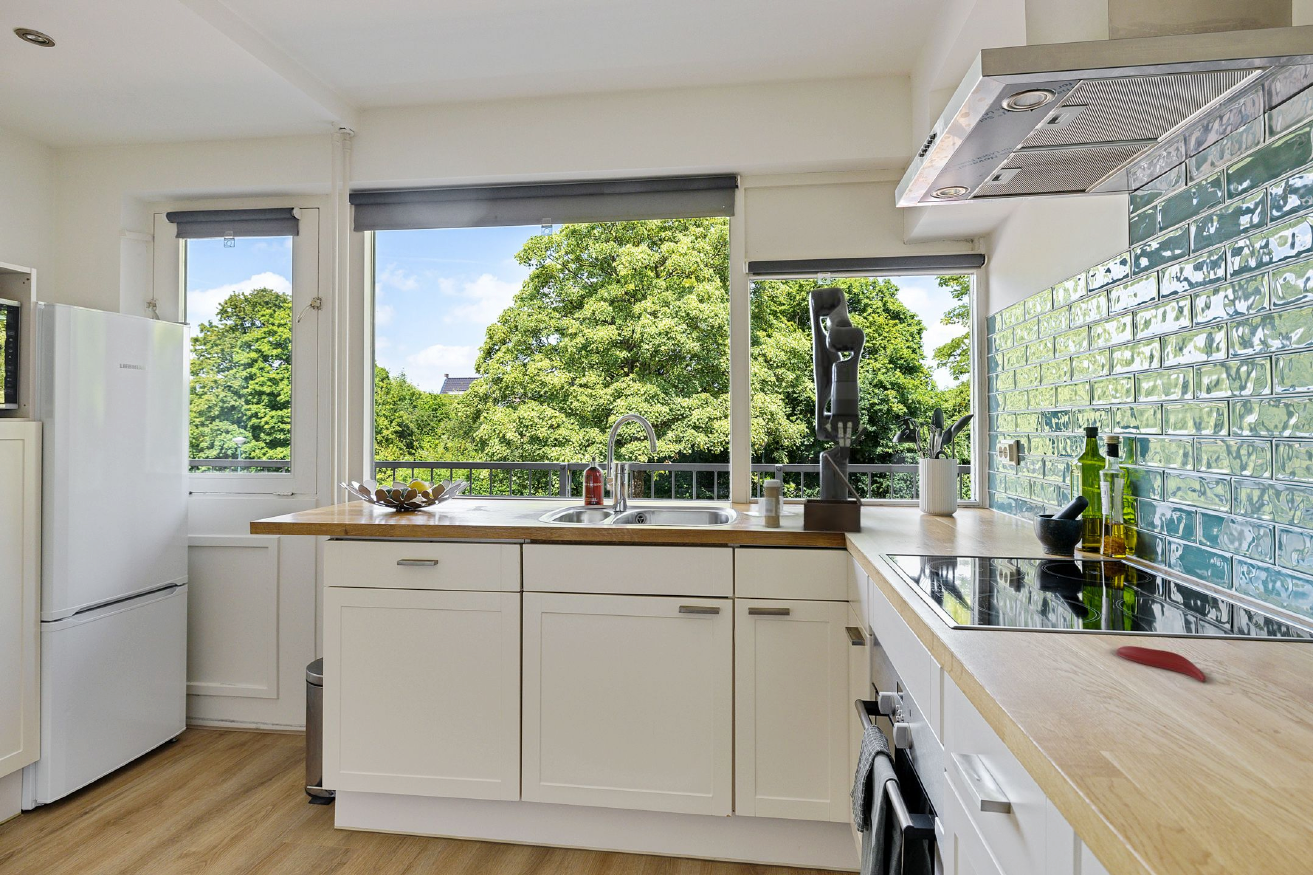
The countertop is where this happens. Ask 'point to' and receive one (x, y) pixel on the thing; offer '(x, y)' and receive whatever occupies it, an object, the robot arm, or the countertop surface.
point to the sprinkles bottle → (772, 503)
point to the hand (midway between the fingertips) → (844, 459)
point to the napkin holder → (762, 508)
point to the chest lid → (842, 478)
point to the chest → (832, 515)
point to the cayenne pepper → (1161, 660)
